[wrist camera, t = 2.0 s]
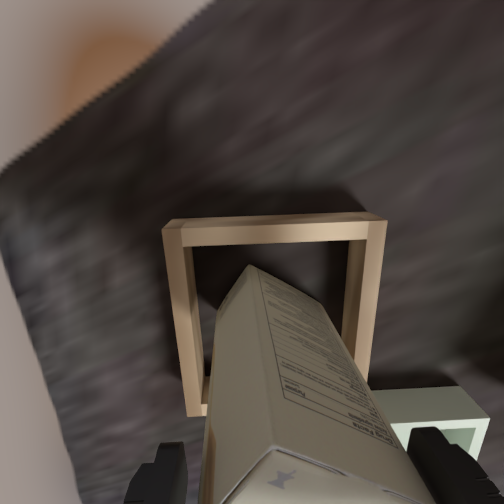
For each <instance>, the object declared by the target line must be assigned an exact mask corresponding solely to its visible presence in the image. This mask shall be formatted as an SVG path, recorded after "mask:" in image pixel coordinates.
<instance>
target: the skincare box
mask: <svg viewBox="0 0 504 504" xmlns="http://www.w3.org/2000/svg"><path fill="white" fill-rule="evenodd" d="M198 504H436V503H435V501H434V499H433V497H432V496H431V494H430V492H429V491H428V489H427V487H426V485H425V484H424V482H423V480H422V478H421V477H420V475H419V473H418V471H417V470H416V468H415V466H414V465H413V463H412V461H411V459H410V458H409V456H408V454H407V452H406V451H405V449H404V447H403V445H402V444H401V442H400V440H399V439H398V437H397V435H396V433H395V432H394V430H393V428H392V426H391V425H390V423H389V421H388V419H387V418H386V416H385V414H384V412H383V411H382V409H381V407H380V405H379V404H378V402H377V400H376V398H375V397H374V395H373V393H372V391H371V390H370V388H369V386H368V384H367V383H366V381H365V379H364V378H363V376H362V374H361V372H360V371H359V369H358V367H357V365H356V364H355V362H354V360H353V358H352V357H351V355H350V353H349V351H348V350H347V348H346V346H345V344H344V343H343V341H342V339H341V338H340V336H339V334H338V332H337V331H336V329H335V327H334V325H333V323H332V322H331V320H330V318H329V317H328V315H327V313H326V311H325V309H324V308H323V306H322V304H321V303H319V302H317V301H316V300H314V299H313V298H311V297H309V296H308V295H306V294H304V293H302V292H301V291H299V290H297V289H295V288H294V287H292V286H290V285H288V284H286V283H285V282H283V281H281V280H279V279H277V278H275V277H274V276H272V275H270V274H268V273H266V272H264V271H262V270H260V269H258V268H256V267H254V266H252V265H248V266H247V267H246V268H245V270H244V271H243V272H242V274H241V275H240V277H239V278H238V279H237V281H236V282H235V284H234V285H233V287H232V288H231V290H230V291H229V293H228V294H227V296H226V297H225V299H224V300H223V302H222V304H221V305H220V307H219V309H218V311H217V317H216V326H215V336H214V346H213V356H212V366H211V375H210V385H209V395H208V403H207V414H206V424H205V435H204V445H203V455H202V465H201V475H200V485H199V495H198Z"/></svg>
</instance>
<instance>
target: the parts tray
mask: <svg viewBox="0 0 504 504" xmlns="http://www.w3.org/2000/svg"><path fill="white" fill-rule="evenodd" d="M372 393H373V395H374V397H375V398H376V400H377V402H378V404H379V405H380V407H381V409H382V411H383V412H384V414H385V416H386V418H387V419H388V421H389V423H390V425H391V426H392V428H393V430H394V432H395V433H396V435H397V437H398V439H399V440H400V442H401V444H402V445H403V447H404V449H405V451H406V450H407V446H408V441H409V437H410V432H411V429H412V428H415V427H430V426H435V427H437V428H438V429H439V430H440V431H441V432H442V433H443V435H444V436H445V437H446V439H447V440H448V442H449V443H450V444H458V445H459V446H460V447H461V448H462V449H464V450H465V451H466V452H467V453H468V454H470V455H471V456H472V457H473V458H474V459H475V460H476V461H477V458H478V455H479V452H480V448H481V445H482V442H483V439H484V436H485V433H486V430H487V427H488V424H489V420H490V417H489V416H488V415H487V414H486V413H485V412H484V411H483V410H482V409H481V408H480V407H479V406H478V405H477V404H476V403H475V402H474V400H473V399H472V398H471V397H470V396H469V395H468V394H467V393H466V392H465V391H464V390H463V389H462V388H461V387H460V386H449V387H430V388H412V389H393V390H374V391H372Z"/></svg>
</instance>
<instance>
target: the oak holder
mask: <svg viewBox="0 0 504 504" xmlns="http://www.w3.org/2000/svg"><path fill="white" fill-rule="evenodd" d="M386 228H387V220H385V219H383V218H381V217H379V216H376V215H374V214H372V213H370V212H343V213H317V214H291V215H265V216H239V217H213V218H187V219H172V220H171V221H170V222H169V223H168V224H167V225H165V226H164V227H163V228H162V229H161V230H162V237H163V245H164V252H165V259H166V266H167V273H168V280H169V288H170V295H171V302H172V309H173V316H174V324H175V331H176V338H177V345H178V352H179V360H180V367H181V374H182V381H183V388H184V395H185V403H186V410H187V417H192V416H206V414H207V403H208V395H209V385H210V376H208V377H205V367H204V358H203V348H202V339H201V329H200V320H199V310H198V301H197V291H196V282H195V272H194V263H193V253H192V246H212V245H237V244H262V243H286V242H311V241H335V240H349V250H348V262H347V274H346V285H345V297H344V309H343V321H342V333H341V339H342V341H343V343H344V344H345V346H346V348H347V350H348V351H349V353H350V355H351V357H352V358H353V360H354V362H355V364H356V365H357V367H358V369H359V371H360V372H361V374H362V376H363V378H364V379H365V381H366V383H367V377H368V370H369V362H370V354H371V346H372V338H373V330H374V322H375V314H376V306H377V299H378V291H379V283H380V275H381V267H382V259H383V251H384V243H385V235H386Z"/></svg>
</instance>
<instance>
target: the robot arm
mask: <svg viewBox="0 0 504 504" xmlns="http://www.w3.org/2000/svg"><path fill="white" fill-rule="evenodd" d="M406 452H407V454H408V456H409V458H410V459H411V461H412V463H413V465H414V466H415V468H416V470H417V471H418V473H419V475H420V477H421V478H422V480H423V482H424V484H425V485H426V487H427V489H428V491H429V492H430V494H431V496H432V497H433V499H434V501H435V503H436V504H504V497H502V495H501V492H500V491H499V490H498V488H497V487H496V486H495V484H494V483H493V482H492V481H490V480H489V477H488V475H487V474H486V473H485V472H484V470H483V469H482V468H481V466H480V465H479V464H478V462H477V461H476V460H475V459H474V458H473V457H472V456H471V455H470V454H468V453H467V452H466V451H465V450H464V449H462V448H461V447H460V446H459V445H458V444H450V443H449V442H448V440H447V439H446V437H445V436H444V435H443V433H442V432H441V431H440V430H439V429H438V428H437V427H435V426H430V427H415V428H412V429H411V432H410V437H409V441H408V446H407V450H406ZM187 483H188V471H187V464H186V457H185V451H184V444H183V442H167V443H160V445H159V447H158V450H157V454H156V458H155V461H154V463H144V464H142V465H141V466H140V468H139V469H138V471H137V472H136V474H135V475H134V477H133V478H132V480H131V481H130V484H129V487H128V490H127V493H126V496H125V499H124V504H185V501H186V494H187Z"/></svg>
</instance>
